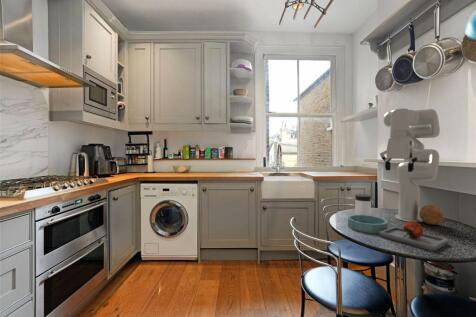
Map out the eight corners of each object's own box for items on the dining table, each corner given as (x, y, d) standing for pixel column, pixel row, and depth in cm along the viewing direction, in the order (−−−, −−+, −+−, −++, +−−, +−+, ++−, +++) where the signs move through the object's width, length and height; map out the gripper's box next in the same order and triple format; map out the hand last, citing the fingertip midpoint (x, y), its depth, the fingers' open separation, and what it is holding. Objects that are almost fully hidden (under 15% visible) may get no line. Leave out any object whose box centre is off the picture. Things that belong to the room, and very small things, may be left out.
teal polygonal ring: (360, 220, 134) (360, 213, 133) (393, 228, 119) (393, 220, 119) (341, 225, 124) (341, 217, 124) (375, 235, 110) (375, 226, 110)
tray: (394, 230, 117) (394, 226, 117) (447, 243, 100) (447, 239, 100) (379, 236, 109) (379, 231, 109) (434, 251, 92) (434, 246, 92)
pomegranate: (413, 246, 100) (434, 232, 100) (401, 231, 102) (421, 217, 101) (404, 241, 108) (423, 228, 107) (392, 227, 109) (411, 214, 108)
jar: (374, 216, 141) (374, 196, 141) (365, 218, 137) (366, 197, 137) (360, 213, 149) (360, 193, 149) (351, 214, 145) (351, 194, 145)
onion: (448, 226, 123) (449, 206, 123) (433, 228, 120) (434, 208, 120) (428, 220, 132) (428, 202, 132) (414, 222, 129) (415, 203, 129)
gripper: (424, 134, 112) (423, 171, 112) (384, 136, 126) (383, 169, 127) (417, 133, 108) (416, 172, 108) (376, 135, 122) (376, 170, 123)
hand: (398, 171), depth 117 cm, fingers open, 9 cm apart
